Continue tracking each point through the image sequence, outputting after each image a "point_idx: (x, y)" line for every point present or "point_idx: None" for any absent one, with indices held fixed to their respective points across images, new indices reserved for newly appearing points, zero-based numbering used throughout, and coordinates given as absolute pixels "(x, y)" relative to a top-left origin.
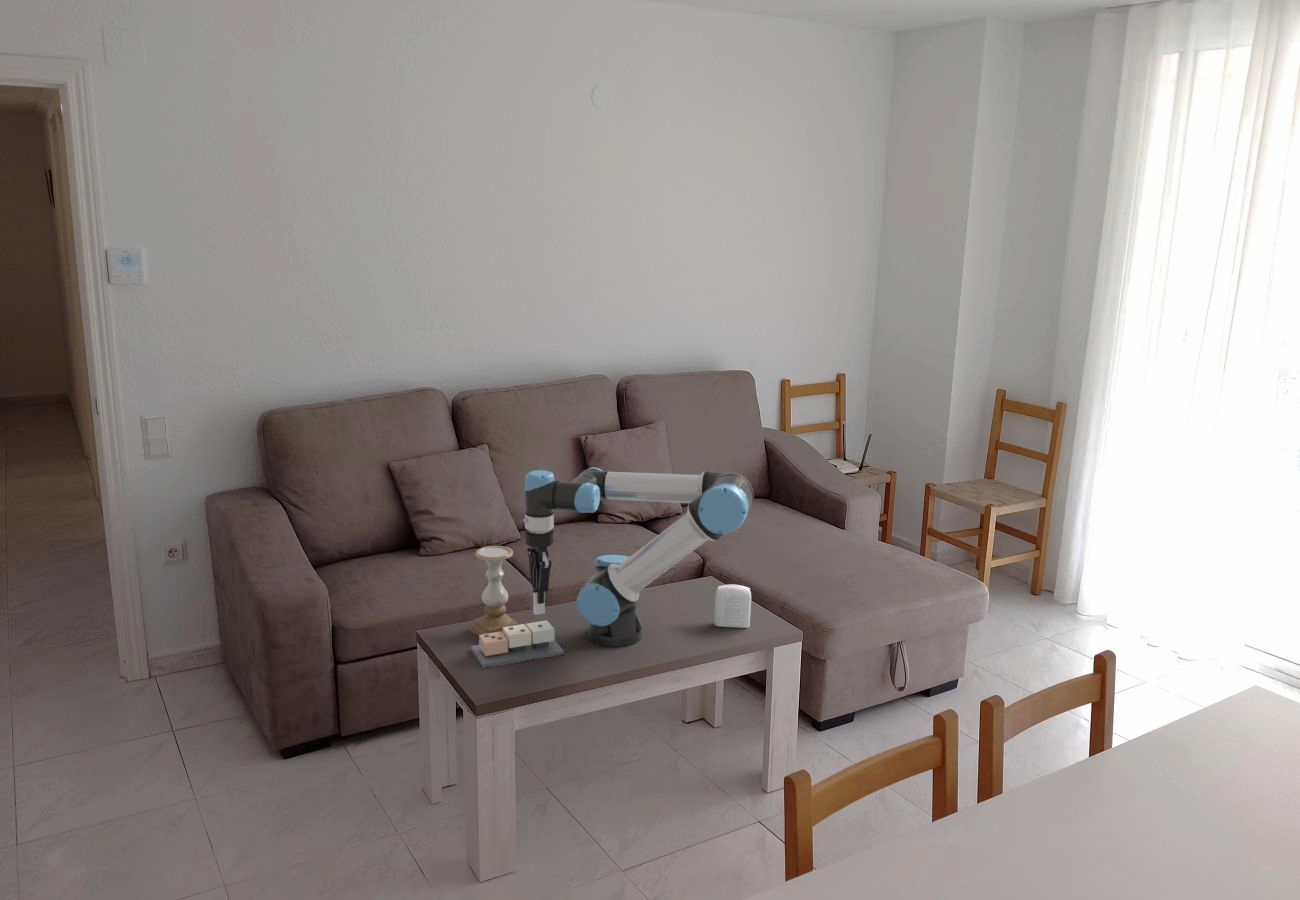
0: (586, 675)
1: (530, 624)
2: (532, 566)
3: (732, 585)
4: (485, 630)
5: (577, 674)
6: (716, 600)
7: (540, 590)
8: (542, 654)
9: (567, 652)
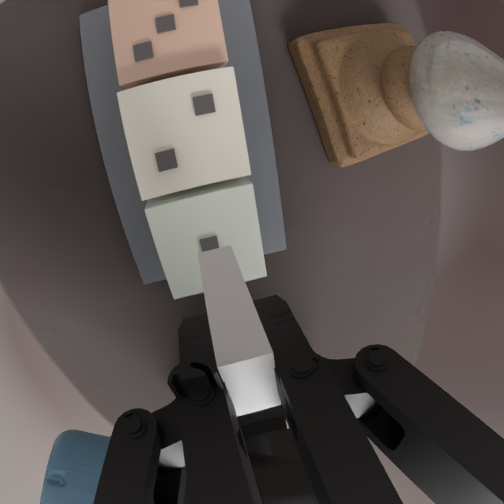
0: (29, 316)
1: (237, 203)
2: (468, 490)
3: None
4: (333, 36)
5: (29, 298)
6: None
7: (119, 437)
8: (120, 217)
9: (160, 288)
